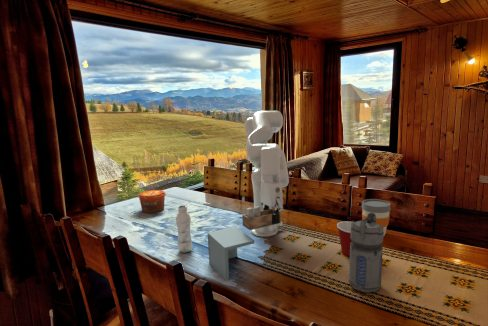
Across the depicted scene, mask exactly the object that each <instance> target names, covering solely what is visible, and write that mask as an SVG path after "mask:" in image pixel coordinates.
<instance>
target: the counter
mask: <svg viewBox="0 0 488 326" xmlns="http://www.w3.org/2000/svg"><path fill="white" fill-rule="evenodd" d="M254 244H255V239H253V238H252V237H251V236H249V235H248V234H247V233H245V232H243V231H241V229H239V228H238V227H236V226H232V227H228V228H223V229H219V230H214V231H209V232H207V245H208V247H207V249H208V262H209V264H210V266H212V268H214V269H215V271H216V272H217V273H218V274H219V275H220V276H221V277H222V278H223V279H224V280H225V281H226V282H227V281H229V280H230V271H229V270H230V269H229V266H230V265H229V259H232V258H236V257H238V248H241V247H245V246H250V245H254Z"/></svg>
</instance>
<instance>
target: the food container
mask: <svg viewBox="0 0 488 326" xmlns="http://www.w3.org/2000/svg"><path fill="white" fill-rule="evenodd" d="M166 195H167V194H166V192H165V191H164V190H161V189H151V190H150V189H149V190H145V191H141V192H140V193H139V194H138V195H137V198H138V199H139V203H140V206H141V208H140V209H141V211H142V213H145V214H155V213H159V212H162V211H163V210H164V209H165V198H166Z"/></svg>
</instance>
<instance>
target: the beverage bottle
mask: <svg viewBox="0 0 488 326" xmlns="http://www.w3.org/2000/svg"><path fill="white" fill-rule="evenodd" d="M366 220H367V221H366ZM350 222H351V237H350V238H351V240H352V242H351V243H350V256H349V271H348V272H349V273H348V275H349V277H348V278H349V279H348V281H349V284H350V286H351V287H352V288H353V289H355V290H357V291H358V292H362V293H374V292H377V291H379V289H380V288H381V286H382V270H383V269H382V267H383V249H384V248H383V246H382V243H383V242H384V237H385V236H384V233H383V226H381V225H380V224H378V223H376V215H375V214H374V213H369V214H368V215H367V217H366V218H365V220H363V219H361V220H357V221H354V219H353V220H352V221H350ZM353 222H354V223H353Z"/></svg>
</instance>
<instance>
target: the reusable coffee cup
mask: <svg viewBox="0 0 488 326" xmlns="http://www.w3.org/2000/svg"><path fill="white" fill-rule="evenodd" d="M361 209H362V212H361V217H362V219H363V220H365V218H366V217H367V215H368V214H369V213H374V214H375V215H376V223H378V224H380V225H381V226H383V233H384V237H385V236H386V232H387V227H388V225H389V222H390V217H391V216H390V212H391V210H392V209H391V203H390V202H389V201H387V200H383V199H377V198H369V199H364V200H362V203H361ZM366 221H367V220H366Z"/></svg>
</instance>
